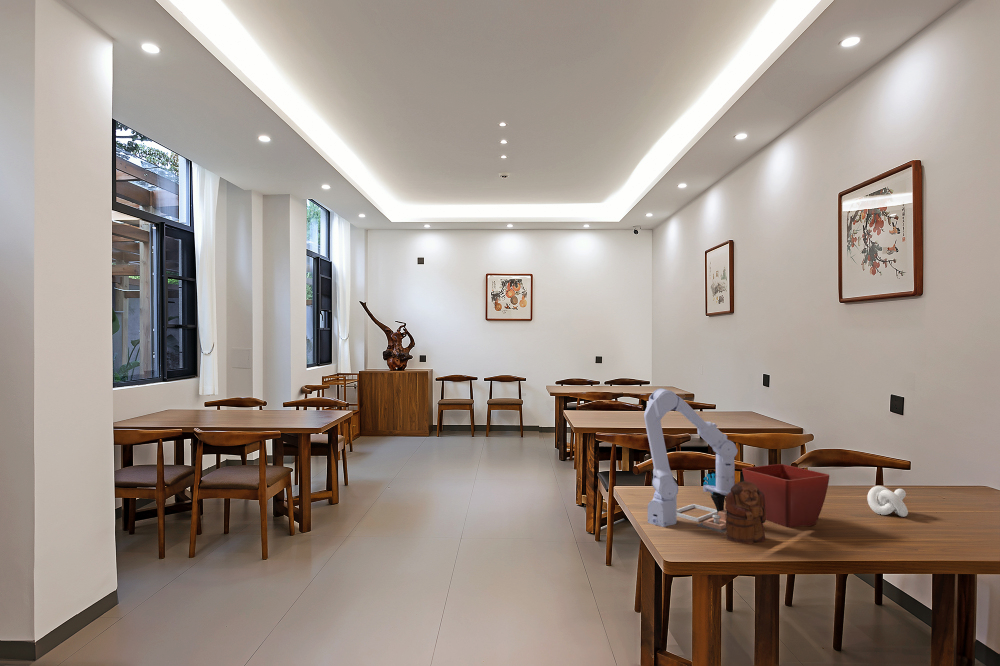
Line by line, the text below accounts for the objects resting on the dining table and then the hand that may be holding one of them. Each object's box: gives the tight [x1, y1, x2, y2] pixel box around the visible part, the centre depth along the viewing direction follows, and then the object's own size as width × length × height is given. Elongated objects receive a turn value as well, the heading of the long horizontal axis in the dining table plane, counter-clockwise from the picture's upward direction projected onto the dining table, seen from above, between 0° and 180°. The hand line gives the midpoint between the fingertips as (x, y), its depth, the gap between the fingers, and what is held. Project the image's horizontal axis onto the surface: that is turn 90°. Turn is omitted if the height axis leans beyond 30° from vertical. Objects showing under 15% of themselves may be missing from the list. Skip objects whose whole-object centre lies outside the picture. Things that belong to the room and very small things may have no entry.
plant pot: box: [742, 463, 830, 528], centre depth 184 cm, size 19×19×17 cm
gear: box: [703, 472, 716, 495], centre depth 220 cm, size 11×6×10 cm
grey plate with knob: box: [695, 515, 726, 534], centre depth 177 cm, size 9×9×4 cm
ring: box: [702, 509, 727, 530], centre depth 179 cm, size 10×6×4 cm, turn 130°
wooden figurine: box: [724, 480, 767, 545], centre depth 165 cm, size 12×6×18 cm, turn 110°
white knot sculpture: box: [866, 485, 909, 518], centre depth 193 cm, size 11×12×9 cm
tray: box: [677, 503, 718, 523], centre depth 190 cm, size 14×10×2 cm
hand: (725, 517), depth 181 cm, fingers closed on ring, 2 cm apart
